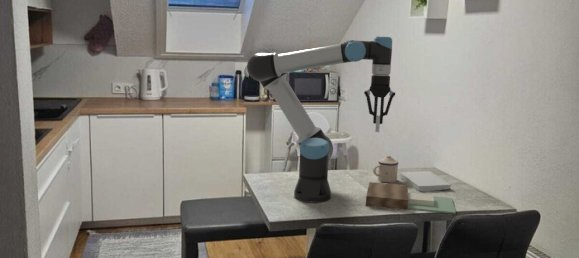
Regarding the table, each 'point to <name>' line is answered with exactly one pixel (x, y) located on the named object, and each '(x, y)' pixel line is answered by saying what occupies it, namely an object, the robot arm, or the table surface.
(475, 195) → the table surface
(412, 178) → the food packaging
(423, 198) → the ceramic tile
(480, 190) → the table surface
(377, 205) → the walnut board
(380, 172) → the teacup with lid
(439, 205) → the rubber mat
